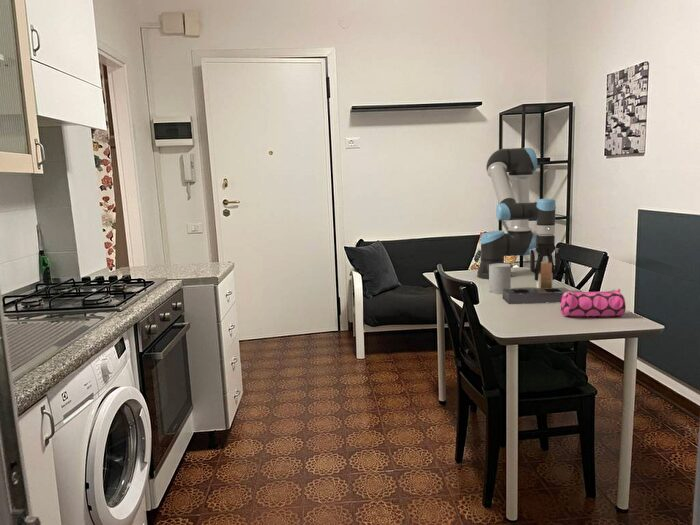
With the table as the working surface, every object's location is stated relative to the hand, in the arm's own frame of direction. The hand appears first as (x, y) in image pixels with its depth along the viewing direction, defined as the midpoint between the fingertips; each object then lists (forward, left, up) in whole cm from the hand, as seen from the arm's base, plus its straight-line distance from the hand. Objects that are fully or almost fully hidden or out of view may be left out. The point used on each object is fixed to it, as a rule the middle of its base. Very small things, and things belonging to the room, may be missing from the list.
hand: (544, 287), depth 235 cm
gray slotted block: (+12, -7, -3) cm, 14 cm away
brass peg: (0, 0, -3) cm, 3 cm away
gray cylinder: (-6, -18, -3) cm, 19 cm away
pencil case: (+38, +5, -3) cm, 38 cm away
